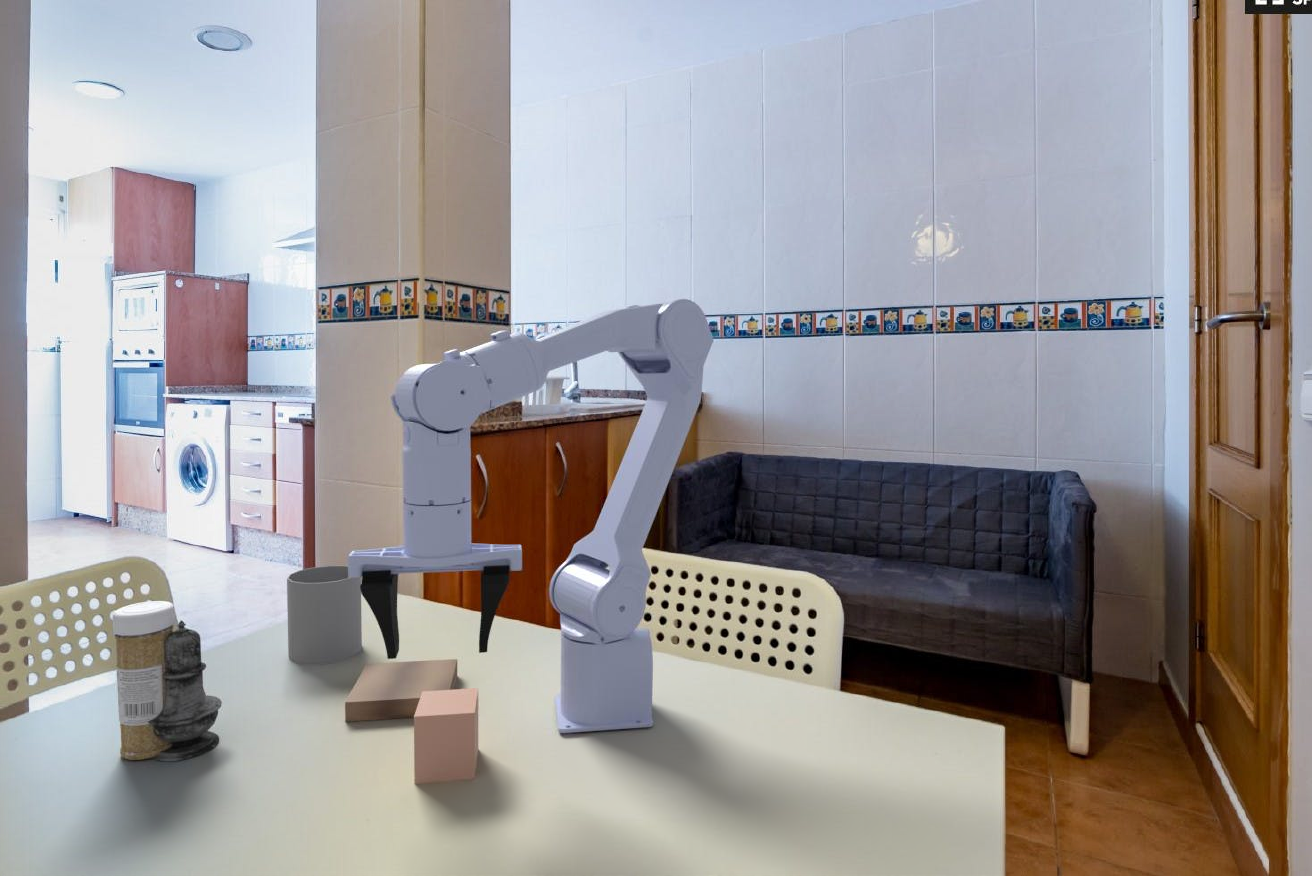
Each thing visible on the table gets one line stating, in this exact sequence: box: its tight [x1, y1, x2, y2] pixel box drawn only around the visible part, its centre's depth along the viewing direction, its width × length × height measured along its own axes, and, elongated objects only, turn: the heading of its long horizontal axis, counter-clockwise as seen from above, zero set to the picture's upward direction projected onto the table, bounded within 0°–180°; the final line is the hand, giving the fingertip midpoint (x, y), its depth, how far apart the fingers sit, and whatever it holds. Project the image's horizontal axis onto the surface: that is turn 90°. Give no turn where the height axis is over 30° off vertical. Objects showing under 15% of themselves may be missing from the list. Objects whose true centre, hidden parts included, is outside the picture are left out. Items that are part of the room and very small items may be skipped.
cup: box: [286, 565, 363, 666], centre depth 89 cm, size 8×8×10 cm
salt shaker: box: [148, 620, 223, 762], centre depth 65 cm, size 6×6×12 cm
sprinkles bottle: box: [112, 600, 176, 761], centre depth 65 cm, size 5×5×13 cm
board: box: [344, 658, 458, 723], centre depth 77 cm, size 10×10×2 cm
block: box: [413, 687, 479, 785], centre depth 63 cm, size 5×5×6 cm
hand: (438, 651), depth 63 cm, fingers open, 7 cm apart
